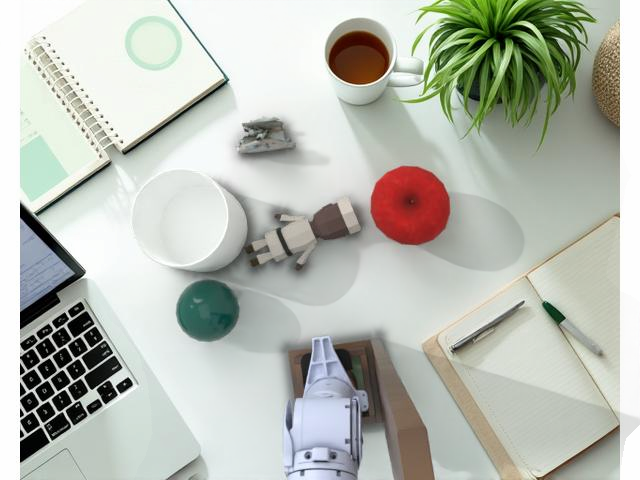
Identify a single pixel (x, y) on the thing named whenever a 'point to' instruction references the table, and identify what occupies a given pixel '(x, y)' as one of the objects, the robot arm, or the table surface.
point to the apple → (410, 205)
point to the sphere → (207, 310)
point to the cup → (188, 221)
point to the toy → (306, 233)
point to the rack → (382, 406)
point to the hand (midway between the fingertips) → (334, 392)
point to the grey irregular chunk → (264, 136)
